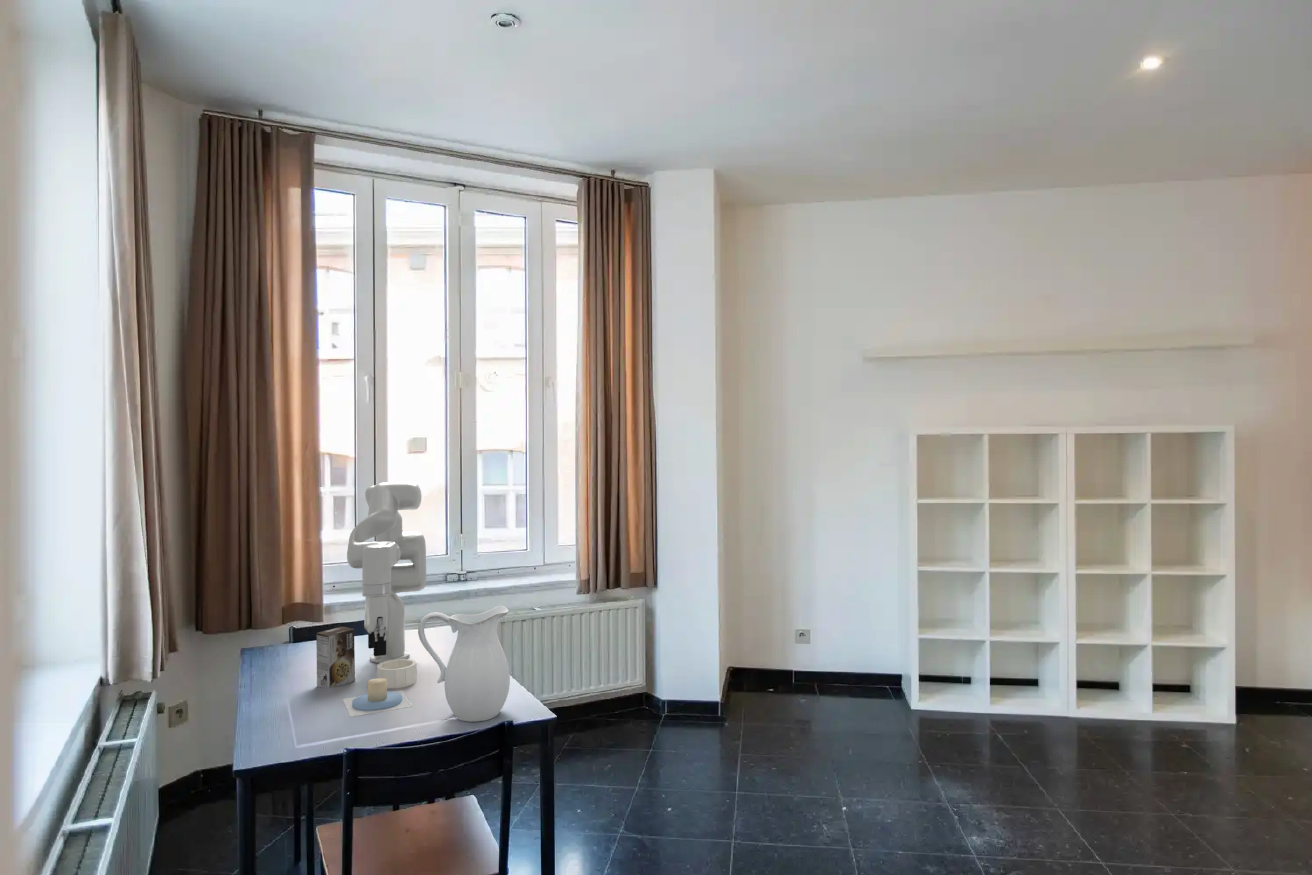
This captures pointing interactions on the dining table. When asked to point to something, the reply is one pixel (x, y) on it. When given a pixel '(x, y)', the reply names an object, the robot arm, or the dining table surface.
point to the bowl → (398, 672)
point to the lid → (377, 697)
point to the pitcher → (473, 664)
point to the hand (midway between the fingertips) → (377, 651)
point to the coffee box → (335, 657)
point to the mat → (355, 712)
